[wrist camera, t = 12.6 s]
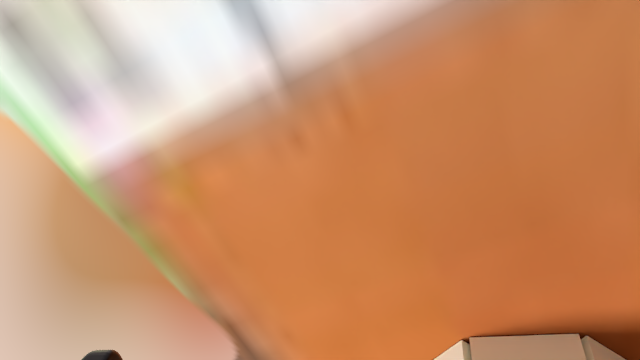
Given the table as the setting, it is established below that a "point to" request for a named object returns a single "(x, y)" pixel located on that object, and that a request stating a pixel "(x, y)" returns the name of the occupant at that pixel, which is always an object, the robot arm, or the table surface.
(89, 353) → the robot arm
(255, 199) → the table surface
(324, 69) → the table surface
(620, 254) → the table surface
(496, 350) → the sage bowl
